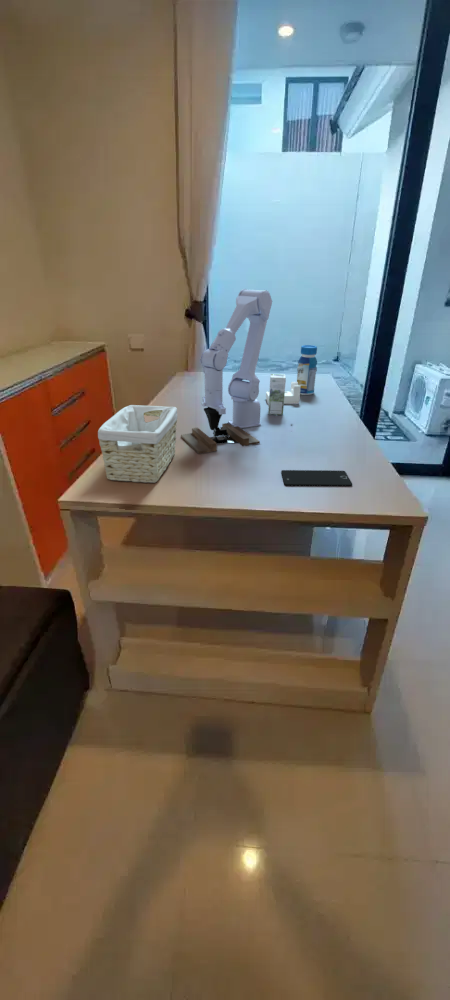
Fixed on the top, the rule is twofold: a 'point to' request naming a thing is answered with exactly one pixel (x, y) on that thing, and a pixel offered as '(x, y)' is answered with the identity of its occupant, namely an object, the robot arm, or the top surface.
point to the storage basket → (138, 443)
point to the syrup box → (276, 394)
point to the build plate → (222, 439)
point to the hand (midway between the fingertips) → (213, 429)
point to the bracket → (290, 394)
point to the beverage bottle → (307, 369)
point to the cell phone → (315, 478)
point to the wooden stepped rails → (206, 444)
